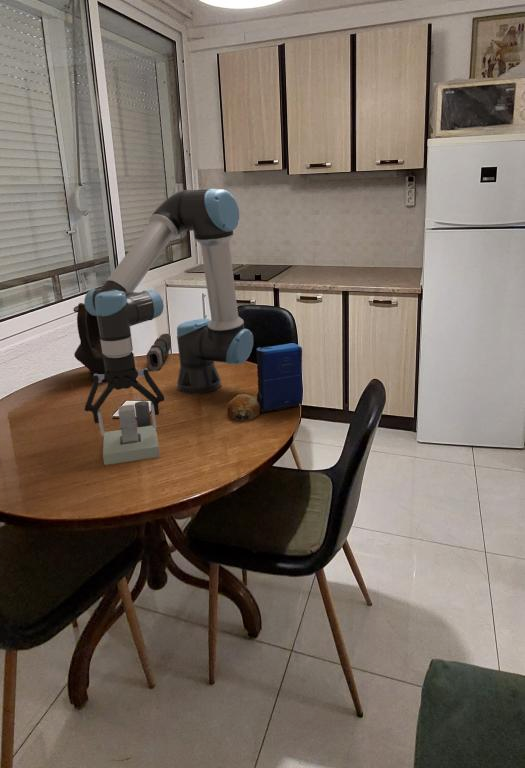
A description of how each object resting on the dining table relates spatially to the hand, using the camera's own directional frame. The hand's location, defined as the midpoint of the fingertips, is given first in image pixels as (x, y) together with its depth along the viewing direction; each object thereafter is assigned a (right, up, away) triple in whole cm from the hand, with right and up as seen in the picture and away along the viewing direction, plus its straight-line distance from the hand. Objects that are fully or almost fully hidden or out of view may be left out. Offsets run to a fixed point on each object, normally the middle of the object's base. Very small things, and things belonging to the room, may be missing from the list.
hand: (129, 429), depth 148 cm
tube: (-5, +22, +78) cm, 81 cm away
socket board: (0, -5, +2) cm, 6 cm away
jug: (-24, +14, +59) cm, 65 cm away
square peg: (0, -5, +2) cm, 6 cm away
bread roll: (+30, +3, +20) cm, 36 cm away
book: (+41, +5, +24) cm, 47 cm away
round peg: (+1, -1, +14) cm, 14 cm away
